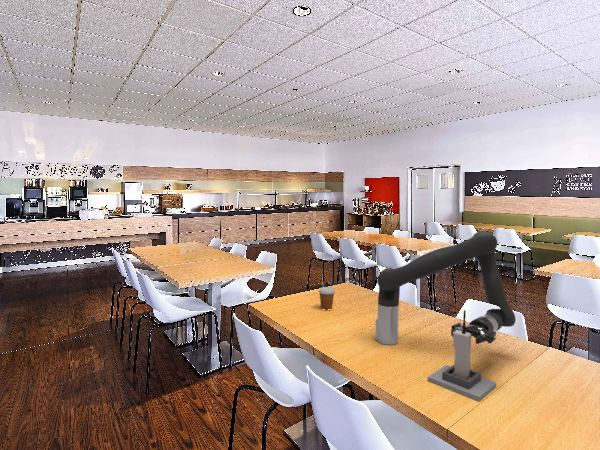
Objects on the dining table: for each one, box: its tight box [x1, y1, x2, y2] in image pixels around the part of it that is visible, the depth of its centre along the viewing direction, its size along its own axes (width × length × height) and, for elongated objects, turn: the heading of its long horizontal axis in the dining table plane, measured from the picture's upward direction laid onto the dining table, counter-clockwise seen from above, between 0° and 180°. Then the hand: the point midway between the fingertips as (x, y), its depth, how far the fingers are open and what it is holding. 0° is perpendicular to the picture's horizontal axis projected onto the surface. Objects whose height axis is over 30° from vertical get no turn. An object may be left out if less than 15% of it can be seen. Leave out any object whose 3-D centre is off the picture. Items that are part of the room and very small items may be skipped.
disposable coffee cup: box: [318, 286, 336, 311], centre depth 217 cm, size 10×10×12 cm
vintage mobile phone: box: [452, 310, 472, 380], centre depth 131 cm, size 4×5×25 cm
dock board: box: [427, 363, 497, 402], centre depth 131 cm, size 18×14×4 cm
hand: (464, 337), depth 131 cm, fingers open, 8 cm apart
